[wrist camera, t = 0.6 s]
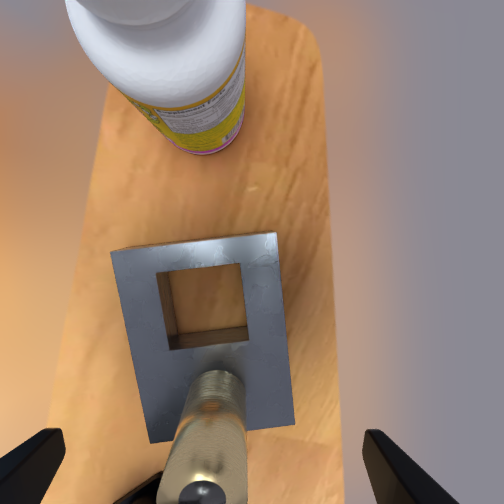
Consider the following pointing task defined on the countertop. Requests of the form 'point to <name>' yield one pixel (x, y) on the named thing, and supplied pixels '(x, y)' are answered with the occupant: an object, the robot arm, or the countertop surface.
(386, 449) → the robot arm
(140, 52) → the supplement bottle
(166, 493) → the bushing
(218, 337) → the jig
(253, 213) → the countertop surface
